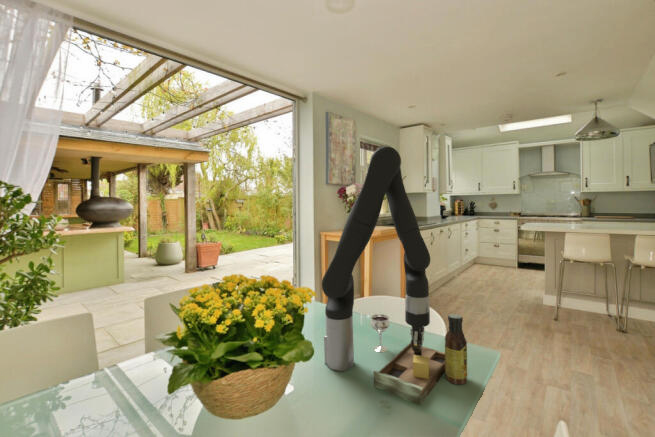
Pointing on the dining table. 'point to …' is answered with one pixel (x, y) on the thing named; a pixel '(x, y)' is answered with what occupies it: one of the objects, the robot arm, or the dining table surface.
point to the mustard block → (421, 366)
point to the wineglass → (380, 328)
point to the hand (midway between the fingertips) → (417, 360)
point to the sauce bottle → (455, 351)
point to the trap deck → (410, 375)
